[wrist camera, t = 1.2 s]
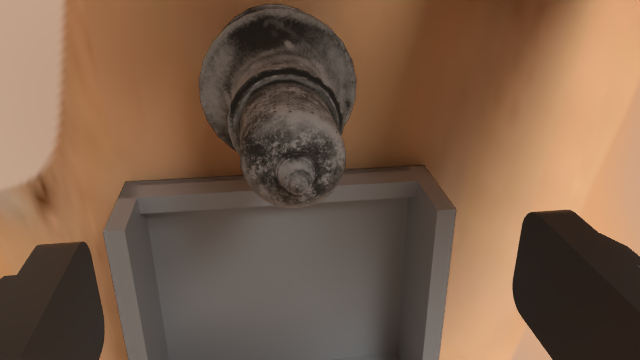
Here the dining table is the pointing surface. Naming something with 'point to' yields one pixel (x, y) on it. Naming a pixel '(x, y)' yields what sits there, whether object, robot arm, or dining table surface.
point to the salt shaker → (281, 101)
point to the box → (282, 269)
